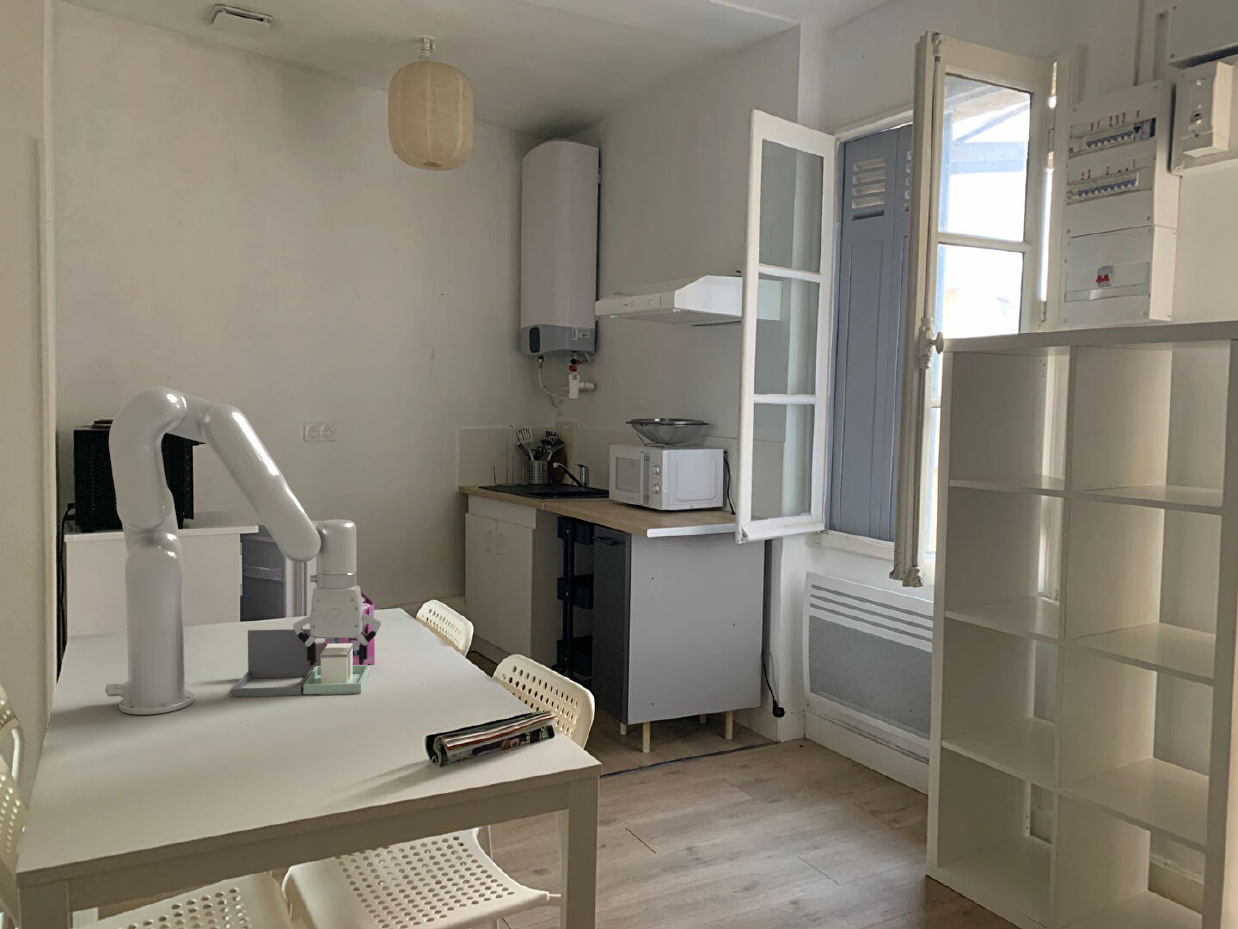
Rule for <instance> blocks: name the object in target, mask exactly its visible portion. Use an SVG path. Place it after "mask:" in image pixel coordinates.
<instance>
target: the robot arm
mask: <svg viewBox="0 0 1238 929" xmlns="http://www.w3.org/2000/svg"><path fill="white" fill-rule="evenodd" d="M166 433H167V434H171V435H174V436H179V437H180V438H185V439H189V440H192V441H195V442H200V443H204V444H207V445H208V447H209V448H210V449H211V450H210V451H212V453H213V455H214V456H215V458H216V459H217V460H218V462H219V464H220V465H221V466H222V468H223V470H224V471H225V473H226V474H227V475H228V477H229V479H230V481H231V482H232V483H233V484H234V486H235V488H236V490H238V492H239V493H240V495H241V497H242V498H243V499H244V500H245V502H246V503H247V504H248V505H249V506H250V507H251V508H252V509H253V511H254V512H255V514H256V515H257V516H258V518H259V519H260V520H261V522H262V524H263V525H264V527H265V529H266V530H267V531H268V533H269V535H270V536H271V537H272V539H273V541H274V542H275V544H276V545H277V547H278V549H279V550H280V551H281V553H282V554H283V556H284V557H285V559H288V560H289V561H291V562H293V563H296V564H297V563H298V564H303V563H307V562H310V561H312V560H313V559H314V558H316V557H317V573H316V574H313V575H310V578H309V579H310V580H309V582H310V583H312V582H313V583H315V584H316V587H314V588H313V591H312V594H311V596H312V597H311V603H310V613H309V615H308V616H305V617H304V618H302V619H300V620H298V621H296V622H295V623H293V625H292V629H294V630H295V632H296V634H297V635H298V638H299V639H300V640H301V641H303V642H304V643H305V645H306V646H307V661H310V666H313V667H314V665H315V664H316V663H317V643H316V642H315V641H316V640H317V639H325V638H353V637H356V638H357V639H358V640H359V641H360V645H359V664H360V665H363V663H364V660H366V659H367V656H368V647H367V643H369V642H370V641H371V640H372V639H373V638H374V637H375V636H377V633H378V631H379V630H380V627H381V626H382V621H380V620H377V619H376V618H375V617H374V618H372V617H370V616H368V615H366V614H363V604H362V596H361V591H362V590H361V588H360V585H357V527H356V526H357V525H356V523H355V522H354V521H352V520H350V519H339V518H337V519H336V518H335V519H326V520H311V519H310V518H309V516H308V514H307V513H306V512H305V510H304V508H303V507H302V505H301V504H300V502H299V501H298V499H297V498H296V496H295V494H294V492H293V491H292V489H291V488H290V486H289V485H288V483H287V480H286V479H285V477H284V475H283V473H282V471H281V470H280V468H279V466H278V465H277V463H276V462H275V460H274V459H273V457H272V456H271V455H270V453H269V451H268V449H267V448H266V447H265V445H264V444H263V442H262V440H261V439H260V437H259V435H258V434H257V432H256V431H255V429H254V428H253V426H252V425H251V423H250V422H249V420H248V418H247V417H246V415H245V414H244V413H243V412H242V411H241V410H240V409H239V408H237V407H236V406H233V405H231V404H225V403H221V402H217V401H213V400H212V401H211V400H208V399H206V398H202V397H199V396H195V395H191V394H189V393H186V392H183V391H178V390H175V389H172V388H169V387H166V386H162V385H158V386H151V387H148V388H146V389H144V390H141V391H140V392H139V393H137V394H135V395H134V396H133V397H132V398H130V399H129V400H128V401H126V402H125V403H124V404H123V405H122V406H121V407H120V409H119V410H118V411H117V413H116V414H115V417H114V418H113V420H112V422H111V426H110V428H109V436H108V446H109V447H108V448H109V455H110V456H109V457H110V462H111V464H110V465H111V470H112V471H111V472H112V478H113V485H114V490H115V498H116V511H117V512H116V513H117V515H118V518H119V520H120V521H121V524H122V525H121V526H122V531H123V535H124V536H123V537H124V540H125V546H126V547H125V548H126V553H127V555H126V560H125V563H124V564H125V565H124V582H125V601H126V602H125V603H126V627H127V671H128V672H127V673H128V674H127V675H128V676H127V677H128V678H127V679H128V680H127V681H125V682H123V683H114V682H113V683H107V684H106V685H105V694H106V695H107V697H108V698H109V697H120V698H122V699H121V700H120V701H119V704H118V707H119V708H118V709H119V711H121V712H122V713H125V714H130V715H138V716H142V715H146V716H147V715H157V714H159V715H160V714H165V713H169V712H175V711H177V710H181V709H183V708H185V707H187V706H189V705H191V704H192V703H193V702H194V698H195V697H194V696H195V695H194V692H193V691H191V690H189V689H186V688H185V686H186V685H185V682H186V680H185V639H184V638H185V629H184V628H185V626H184V623H185V622H184V557H183V548H182V543H181V538H180V532H179V527H178V520H177V519H178V518H177V515H176V514H177V513H176V508H175V501H174V496H173V494H172V492H171V489H169V487H168V483H167V480H166V479H167V478H166V474H165V468H164V466H165V465H164V460H163V453H162V441H163V438H164V435H165V434H166ZM360 590H361V591H360ZM364 622H365V623H367V624H369V625H371V626H372V630H371V631H370V632H369V633H368V634H367V635H366V634H365V633H364V632H363V626H364ZM308 624H309V629H310V634H311V636H309V635H308V634H306V633H305V632H304V631H303V629H304V628H303V627H304V626H306V625H308Z"/></svg>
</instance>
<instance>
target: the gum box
mask: <svg viewBox="0 0 1238 929" xmlns="http://www.w3.org/2000/svg"><path fill="white" fill-rule="evenodd" d="M360 591H361V596H362V604H363V614H366V615H368V616H370V617H372V618H374V619H375V603H374V601H373V600H372V599H371V598H369V597H368V596H367V595H366V594H365V593H364V592H363V591H362V590H361V589H360ZM371 630H372V626H371V625H369V624H367V623H365V622H364V626H363V632H364V633H365V634H366V635H367V634H368V633H369V632H370V631H371ZM375 641H376V639H375V637H374V638H373V639H372V640H371V641H370V642H369V643H367V647H368V656H367V659H366V660H364V663H363V665H368V664H373V665H375V663H376V662H375V661H376V660H375V658H376V656H375V652H376V650H375V649H376V648H375V647H376V646H375V645H376V644H375ZM343 643H353V665H360V664H359V645H360V641H359V640H358V639H357V638H356V637H353V638H324V644H325V646H326V645H327V644H343Z"/></svg>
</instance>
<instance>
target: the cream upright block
mask: <svg viewBox="0 0 1238 929" xmlns="http://www.w3.org/2000/svg"><path fill="white" fill-rule="evenodd" d="M319 656H320V657H319V658H320V666H321V684H333V683H350V681H351V679H352V677H353V643H343V644H327V646H326V645H325V646H324V648H323V650H322V651H321V653H320V655H319Z"/></svg>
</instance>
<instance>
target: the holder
mask: <svg viewBox="0 0 1238 929" xmlns="http://www.w3.org/2000/svg"><path fill="white" fill-rule="evenodd" d="M303 631H304V632H305V633H306V634H308V635H309V636H311V634H310V628H303ZM313 670H314V665H313V666H310V661H307V646H306V645H305V643H304V642H303V641H301V640H300V639H299V638H298V635H297V634H296V632H295V630H294V628H285V629H284V628H283V629H281V628H279V629H248V630H247V672H246V673H245V674H243V675H242V677H241V678H240V679H239V680H238V681H237V683H236V684H235V685H234V686H233V687H232V688H231V690H230V691H231V698H238V697H239V696H241V697H242V698H243V697H273V696H274V697H275V696H276V697H278V696H277V695H284V696H301V695H302V694H303V685H304V683H305V682H306V680H307V679H308V677H309V676H310V674H311V673H312V671H313ZM278 676H279V677H278ZM282 676H286V677H285V678H288V677H287V676H305V677H304V678H303V680H302V681H301V683H300V684H299V686H281V687H276V686H275V687H247V688H246V687H245V688H244V686H245V685H246V684H247V683H246V682H247V681H248V682H249V681H250V679H251V677H264V678H283V677H282ZM301 693H302V694H301ZM241 697H239V698H241Z"/></svg>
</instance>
